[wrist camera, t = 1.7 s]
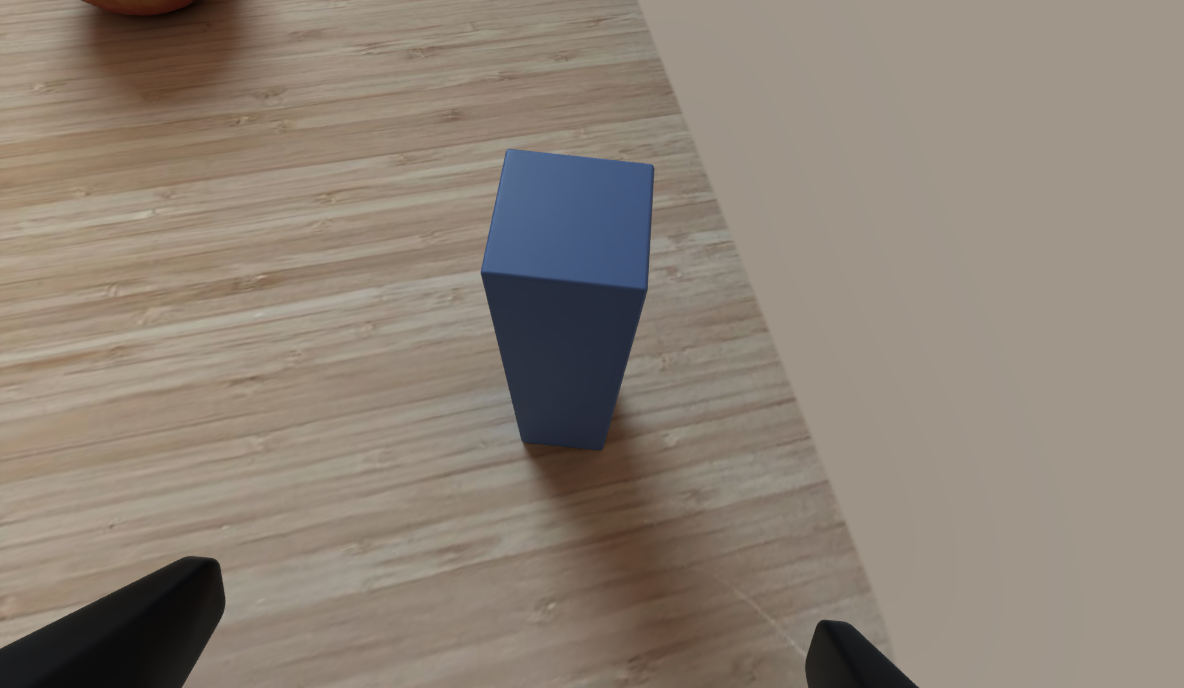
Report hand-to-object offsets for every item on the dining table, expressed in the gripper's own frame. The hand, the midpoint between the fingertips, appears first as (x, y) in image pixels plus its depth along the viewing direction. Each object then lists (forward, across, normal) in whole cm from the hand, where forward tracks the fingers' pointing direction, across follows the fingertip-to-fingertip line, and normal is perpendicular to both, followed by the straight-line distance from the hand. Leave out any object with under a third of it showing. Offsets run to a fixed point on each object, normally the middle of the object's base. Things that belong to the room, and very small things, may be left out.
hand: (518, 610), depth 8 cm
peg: (+15, 0, +4) cm, 15 cm away
